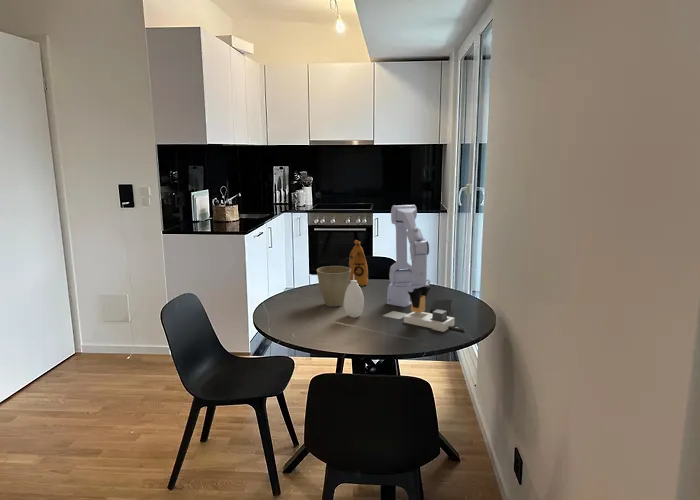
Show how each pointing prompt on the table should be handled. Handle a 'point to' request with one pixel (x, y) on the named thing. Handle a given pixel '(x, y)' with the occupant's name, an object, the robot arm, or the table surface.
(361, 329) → the table surface
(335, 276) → the plant pot
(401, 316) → the grey mat
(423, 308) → the orange plug
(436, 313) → the dark grey block
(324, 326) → the table surface
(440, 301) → the black sponge
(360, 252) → the coffee package
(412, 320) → the white slotted board
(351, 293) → the sauce bottle
